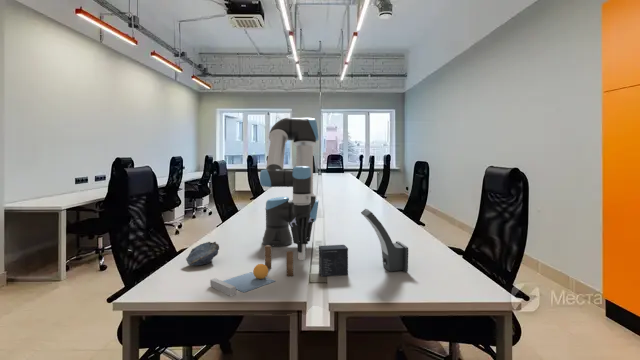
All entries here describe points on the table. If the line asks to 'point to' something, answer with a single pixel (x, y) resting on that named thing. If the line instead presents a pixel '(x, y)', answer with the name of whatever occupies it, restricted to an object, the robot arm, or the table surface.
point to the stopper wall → (223, 286)
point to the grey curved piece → (388, 246)
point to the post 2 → (289, 263)
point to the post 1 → (268, 256)
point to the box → (333, 260)
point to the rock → (203, 253)
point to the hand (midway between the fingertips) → (301, 259)
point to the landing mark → (248, 282)
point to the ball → (260, 271)
